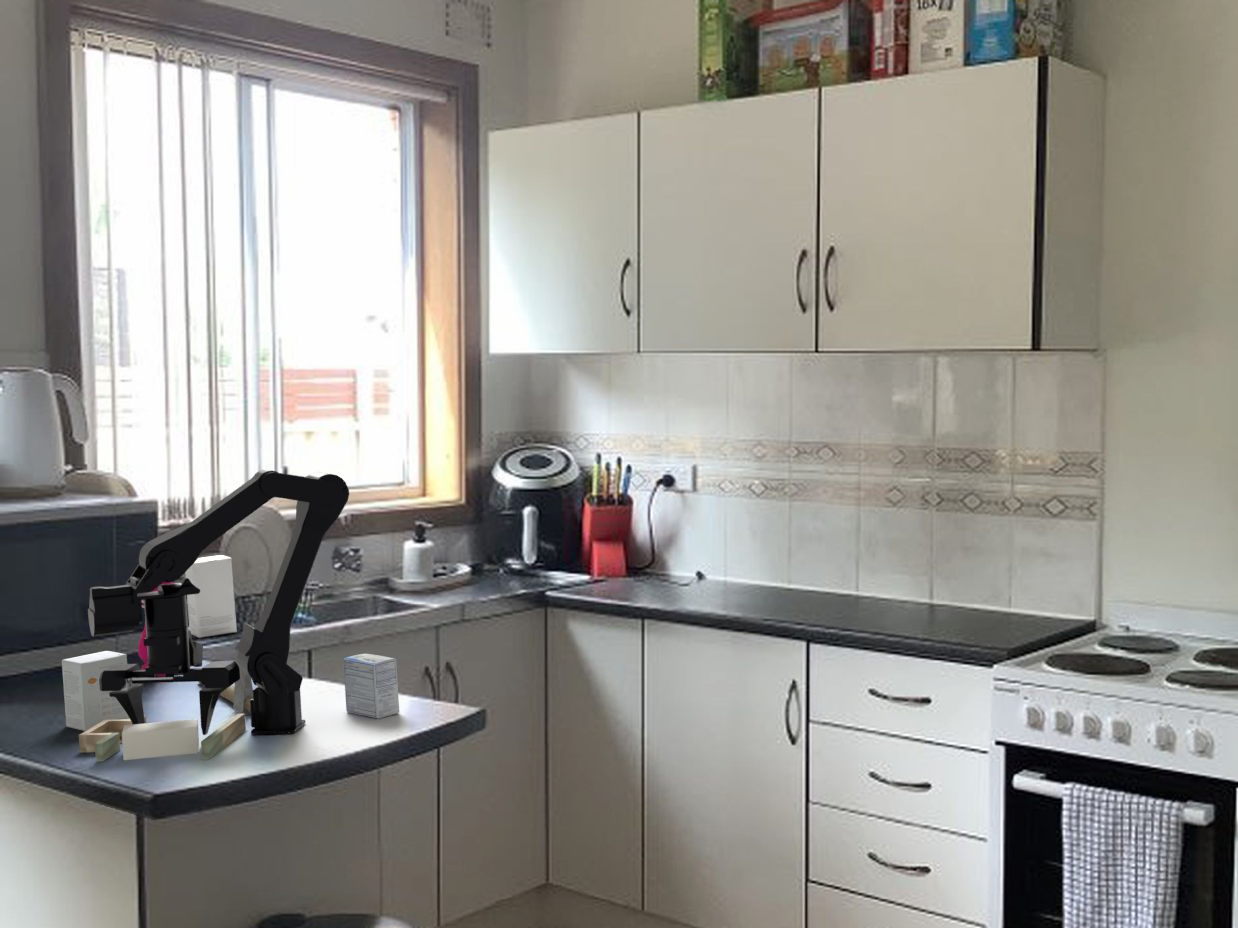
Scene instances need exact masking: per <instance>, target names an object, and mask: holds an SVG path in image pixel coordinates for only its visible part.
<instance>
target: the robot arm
mask: <svg viewBox="0 0 1238 928" xmlns="http://www.w3.org/2000/svg"><path fill="white" fill-rule="evenodd" d="M349 497H350V489H349V487H348V485H347V482H346V481H345V480H344V479H343V478H342V477H340V476H339V475H337V474H332V473H328V472H323V471H322V472H321V471H318V472H317V471H316V472H312V473H311V474H308V475H307V476H302V475H301V476H300V475H296V474H295V475H294V474H289V473H282V472H281V473H280V472H278V471H275V470H271V469H266V468H265V469H261V470H259V471H257V472H256V473H254V474H253V476H252V477H251V478H250V479H248V480H247V481H246V482H244V483H242V485H240V486H239V487H238V488H237V489H235V490H233V491H232V492H231V493H229V494H228V495H226V496H225V497H224V498H222V499H221V500H220V501H218V502H217V503H216V504H214V505H213V506H211V507H210V508H209V509H207V510H206V511H205V512H203V513H202V514H200V515H199V516H197V517H196V518H195V519H193V520H191V522H189V523H187V524H184V525H183V526H180V527H177V528H175V529H172V530H170V531H167V532H165V533H163V534H161V535H159V536H157V537H155V538H153V539H151V540H149V541H148V542H146V543H145V544H144V545H143V546H142V547H141V549H140V551H139V556H138V562H139V563H138V564H137V566H136V568H135V569H134V571H133V572H132V574H131V575H130V577H129V578H128V579H127V581H126V583H125V584H123V585H114V586H112V585H111V586H92V587H90V588H89V598H88V599H89V604H88V605H89V608H87V615H88V625H89V630H90V635H91V636H92V637H97V636H106V635H114V634H115V635H117V634H122V633H123V634H124V633H132V632H135V630H136V627H139V626H140V624H141V625H142V623H143V608H142V602H141V601H142V600H144V605H145V609H144V615H145V616H144V618H145V619H144V620H145V621H146V636H147V637H146V638H144V646H147V652H148V666H147V667H146V668H145V670H142V667H140V665H139V663H127V664H115V665H113V666H112V667H110V668H108V669H106V670H104V671H103V672H102V673H101V674H100V678H99V686H100V691H111V692H110V693H109V696H110V697H115V698H116V699H117V700H118V702H119V703H120V704H121V706H122V707H123V709H124V710H125V711H126V713H127V715H128V716H129V718H130V720H131V722H132V723H133V724H144V723H145V720H144V716H145V714H144V706H143V700H142V699H143V692H144V691H143V689H144V684H152V683H153V684H155V683H156V684H157V683H186V682H187V683H190V682H194V683H195V682H196V683H197V682H198V681H200V683H201V684H202V686H203V688H202V689H200V690H199V691H198V694H199V695H198V696H199V697H198V698H199V699H198V700H199V712H200V713H199V715H200V727H201V732H202V736H206V735H208V733H209V731H210V726H211V723H212V719H213V716H214V713H215V712H214V711H215V708H216V706H217V705H216V704H217V702H218V701H219V697H220V696H221V695H220V694H221V692H223V691H224V690H226V689H227V688H228V687H230V686H231V685H232V686H233V684H234V685H235V682H237V681H238V680H239V679H240V669H241V670H242V671H243V672H244V673H245V674H246V675H248V676H249V677H250V678H251V681H252V684H254V686H256V688H254V689H253V699H252V700H251V701H250V711H251V714H250V724H251V725H250V726H251V728H252V729H251V731H250V733H251V735H259V734H260V735H266V734H267V735H269V734H275V735H276V734H278V735H279V734H295V733H296V732H298V730H299V729H301V728H302V727H303V726H304V725H305V724H306V719H303V718H302V717H303V716H302V698H301V686H302V683H303V678H304V677H303V676H302V675H301V674H300V673H299V672H297V671H296V670H295V669H294V668H292V667H291V666H290V665H288V664H287V663H288V657H289V651H290V648H291V647H290V646H291V625H292V623H293V620H294V617H295V615H296V612H297V609H298V606H299V603H300V601H301V599H302V596H303V593H304V590H305V587H306V585H307V582H308V579H309V577H310V574H311V571H312V569H313V566H314V563H315V561H316V558H317V555H318V552H319V550H320V547H321V545H322V542H323V539H324V537H325V535H327V533H328V532H329V530H330V529H331V528H332V526H333V525H334V524H335V523H336V522H337V521H338V519H339V517H340V515H341V514H342V511H344V510H343V509H344V508H345V507H346V504H347V503H348V500H349ZM274 498H278V499H286V500H291V501H292V500H293V501H296V508H295V509H296V511H295V527H294V529H293V532H292V535H291V538H290V541H289V543H288V546H287V548H286V552H285V554H284V557H283V560H282V563H281V564H280V567H279V570H278V573H277V575H276V578H275V581H274V582H273V583H274V584H273V585H272V589H271V591H270V594H269V597H268V598H267V599H268V600H267V602H266V605H265V607H264V610H263V613H262V615H261V616H260V618H259V619H258V620H257V622H255V624H254V625H253V626H252V625H251V624H248V623H244V625H243V628H242V632H241V633H242V634H241V638H240V640H239V642H238V643H237V644H236V646H235V647H234V650H237V651H238V655H237V663H238V664H237V663H236V660H224V661H223V660H221V661H220V660H219V661H216V660H215V661H211V662H209V663H207V664H206V665H204V666H203V658H204V657H203V656H204V644H201V643H199V642H197V641H194V640H193V635H192V634H191V630H190V629H189V627H188V626H189V621H188V605H187V595H192V594H199V593H200V589H199V588H197V587H196V586H194V585H193V584H192V583H191V581H190V580H189V578H187V577H186V576H183V575H184V574H185V572H186V571H187V570H188V569H189V568H190V567H191V566H192V565H193V564H194V563H195V561H196V560H197V559H198V558H200V556H201V555H202V554H203V552H204V551H205V550H206V549H207V547H209V546H210V544H212V543H213V542H215V541H216V540H218V539H219V538H220V537H222V536H223V535H224V534H225V533H227V532H229V531H230V530H231V529H233V528H234V527H235V526H237V525H238V524H239V523H241V522H242V521H243V520H245V519H246V518H248V517H249V516H250V515H252V514H253V513H255V512H256V511H257V510H258V509H260V508H262V506H264V505H265V504H267V503H268V502H269V501H271V500H272V499H274ZM182 576H183V577H182ZM181 577H182V578H181ZM180 578H181V579H180ZM178 579H180V581H179V582H175V583H174V581H177V580H178ZM163 582H165V583H169V582H173V584H164V585H161V584H162V583H163ZM158 586H159V587H158ZM157 587H158V591H154V592H152V591H153V590H154V589H156V588H157ZM145 621H144V622H145ZM238 665H239V666H238ZM191 667H194V668H191ZM239 667H240V668H239ZM157 674H166V676H159V677H158V676H157ZM200 683H199V684H200ZM201 684H200V685H201Z"/></svg>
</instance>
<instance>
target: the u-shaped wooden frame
mask: <svg viewBox="0 0 1238 928" xmlns="http://www.w3.org/2000/svg"><path fill="white" fill-rule="evenodd" d="M144 720H145V723H148V722H147V715H144ZM124 725H133V723H132V722H131V720H130V719H113V720H103V721H102V722H100V723H98V724H97V725H95V726H93V727H92V728H90V729H88V730H87V731H83V732H82V733H80V734H78V745H79V753H80V754H81V753H95V762H104V761H106V760H107V759H109V758H111V756H113V755H115V754H116V753H118V752H119V751H121V744H122V732H123V728H124ZM246 730H247V727H246V715H245V713H244V714H241V713H237V714H236V715H234V716H233V717H232V718H230V719H229V720H227V722H224V723H223V724H222V725H221V726H219V727H218V728H217V729H216V730H214V731H212V733H210V734H209V735H208V736H206V737H205V738H204V739H202V740H200V749H201V751H200V752H201V760H210V759H211V758H213V757H214V756H215V755H217V754H218V753H219V752H220V751H222V750H223V749H224V748H225V747H226V746H228V745H229V744H230V743H231V742H233V741H234V740H235V739H237V738H238V737H239V736H240V735H241V734H243V733H244V732H245V731H246Z"/></svg>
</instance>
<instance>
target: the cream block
mask: <svg viewBox="0 0 1238 928" xmlns="http://www.w3.org/2000/svg"><path fill="white" fill-rule="evenodd" d="M199 735H200V734H199V719H198V718H191V719H178V720H170V721H168V720H167V721H157V722H147V723H144V724H133V725H124V728H123V732H122V743H121V744H122V757H123V761H129V760H130V761H131V760H139V759H149V758H150V759H151V758H160V757H170V756H171V757H172V756H180V755H181V756H182V755H191V754H192V755H193V754H199V750H200V737H199Z"/></svg>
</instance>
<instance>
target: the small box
mask: <svg viewBox="0 0 1238 928" xmlns="http://www.w3.org/2000/svg"><path fill="white" fill-rule="evenodd" d="M127 657H128V655H127V654H126V653H121V652H116V651H110V650H104V651H103V650H102V651H98V652H94V653H89V654H88V653H87V654H83V655H79V656H75V657H70V658H64V659H61V668H62V681H63V697H64V712H65V725H66V726H65V727H67V728H71V729H74V730H78V731H83V732H85V731H87V730H88V729H90V728H92V727H93V726H95V725H97V724H98V723H100V722H102V721H103V720H113V719H130V718H129V716H128V715H127V713H126V711H125V710H124V709H123V707H122V706H121V704H120V703H119V702H118V700H117V699H116V698H115V697H110V696H109V693H110V692H111V691H100V686H99V678H100V674H101V673H102V672H103V671H104V670H106V669H108V668H110V667H112V666H113V665H115V664H128V658H127Z"/></svg>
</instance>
